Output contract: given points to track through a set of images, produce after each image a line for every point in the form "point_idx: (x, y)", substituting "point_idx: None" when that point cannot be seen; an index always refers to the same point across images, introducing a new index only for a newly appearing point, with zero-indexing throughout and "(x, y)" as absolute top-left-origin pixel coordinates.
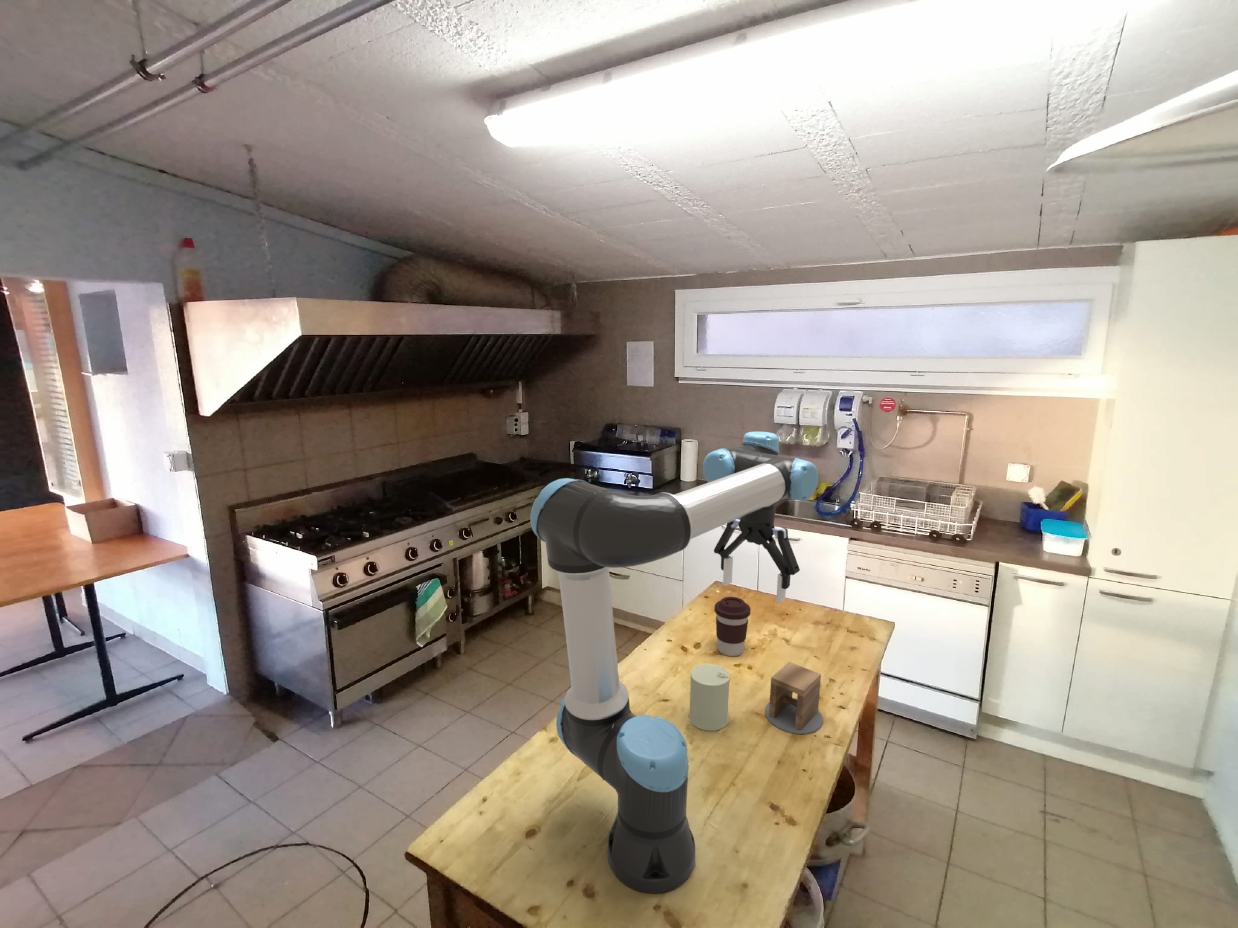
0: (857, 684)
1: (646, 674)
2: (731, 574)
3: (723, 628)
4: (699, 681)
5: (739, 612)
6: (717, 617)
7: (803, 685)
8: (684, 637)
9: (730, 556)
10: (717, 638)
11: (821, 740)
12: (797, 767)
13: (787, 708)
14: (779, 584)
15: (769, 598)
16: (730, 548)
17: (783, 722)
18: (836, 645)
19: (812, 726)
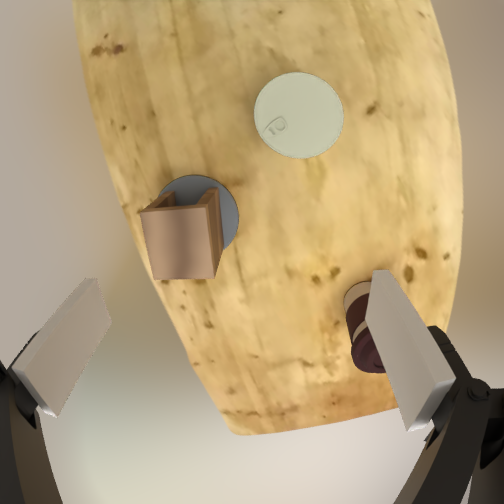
0: (182, 335)
1: (431, 152)
2: (378, 343)
3: None
4: (299, 76)
5: (366, 343)
6: None
7: (150, 227)
8: (432, 278)
9: (422, 423)
10: None
11: (140, 197)
12: (131, 124)
13: None
14: (42, 333)
15: (365, 413)
16: (442, 480)
17: (193, 188)
18: (249, 387)
19: None
